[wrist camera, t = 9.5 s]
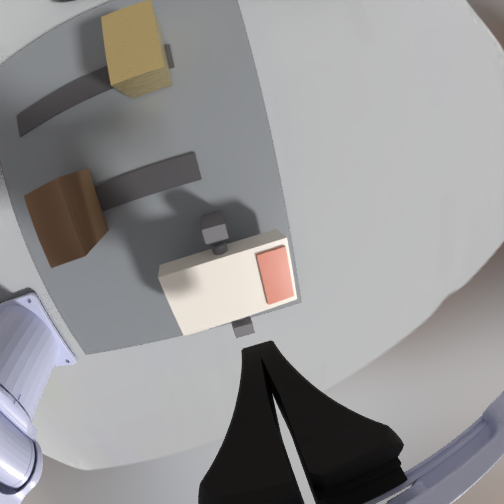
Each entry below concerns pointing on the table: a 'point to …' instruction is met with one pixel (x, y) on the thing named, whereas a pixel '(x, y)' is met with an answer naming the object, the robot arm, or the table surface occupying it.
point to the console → (142, 162)
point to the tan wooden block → (135, 50)
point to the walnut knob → (67, 217)
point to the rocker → (229, 281)
